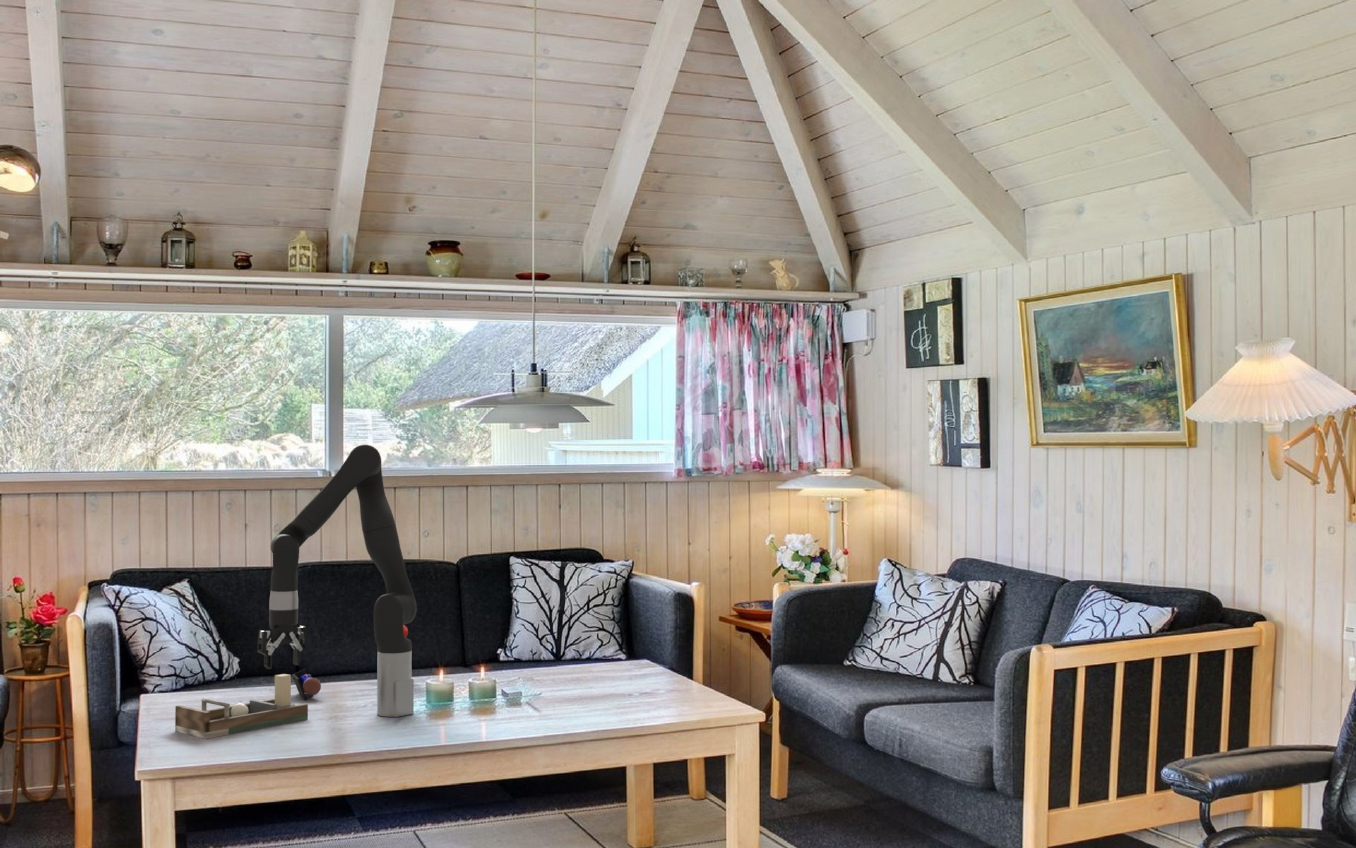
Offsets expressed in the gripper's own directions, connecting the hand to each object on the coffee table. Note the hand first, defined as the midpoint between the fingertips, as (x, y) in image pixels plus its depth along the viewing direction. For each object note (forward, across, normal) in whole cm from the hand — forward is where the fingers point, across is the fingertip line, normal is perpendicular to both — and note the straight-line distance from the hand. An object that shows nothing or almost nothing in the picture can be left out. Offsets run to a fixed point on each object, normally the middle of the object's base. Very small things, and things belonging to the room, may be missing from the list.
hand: (282, 666), depth 337 cm
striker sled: (+12, -3, -1) cm, 12 cm away
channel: (+14, -12, -1) cm, 18 cm away
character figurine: (+14, +22, +21) cm, 33 cm away
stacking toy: (+14, +52, +15) cm, 56 cm away
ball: (+10, -13, -1) cm, 17 cm away
